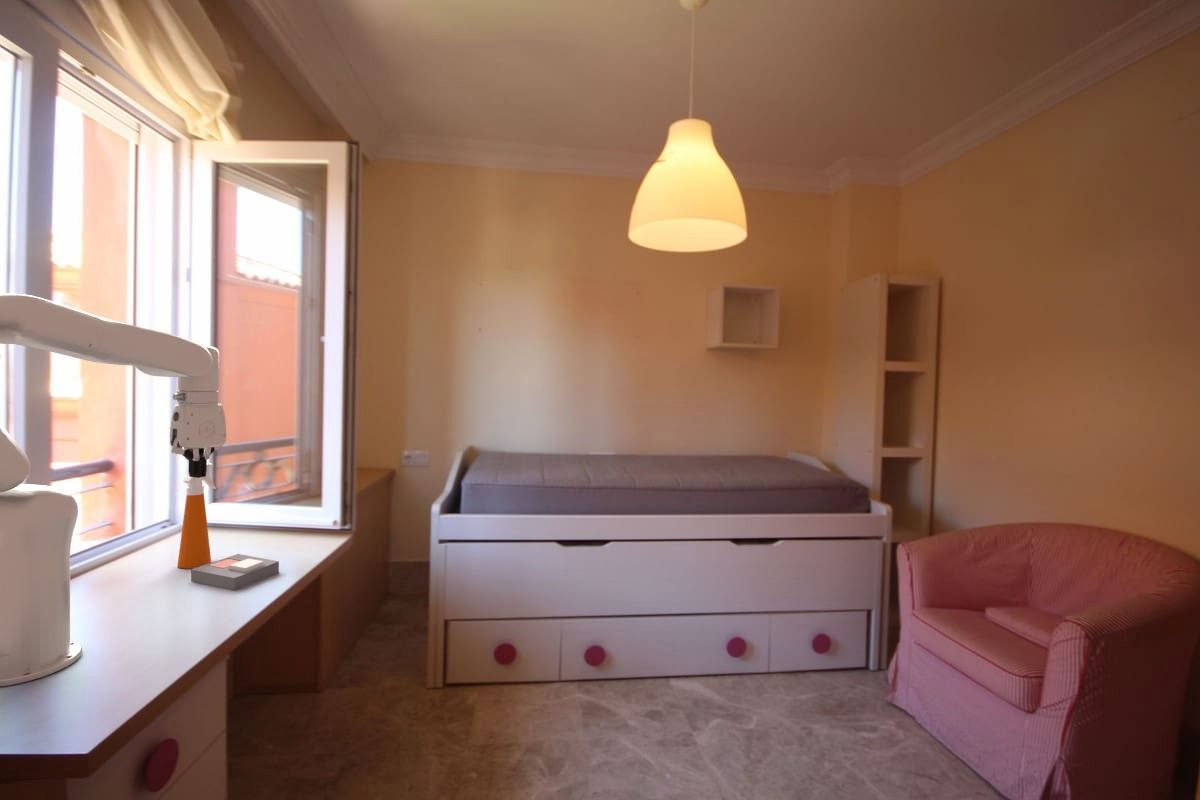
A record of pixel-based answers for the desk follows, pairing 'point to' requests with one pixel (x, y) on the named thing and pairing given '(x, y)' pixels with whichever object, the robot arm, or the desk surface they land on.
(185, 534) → the spray bottle
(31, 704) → the desk surface
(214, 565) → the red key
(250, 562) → the white key
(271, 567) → the key panel
